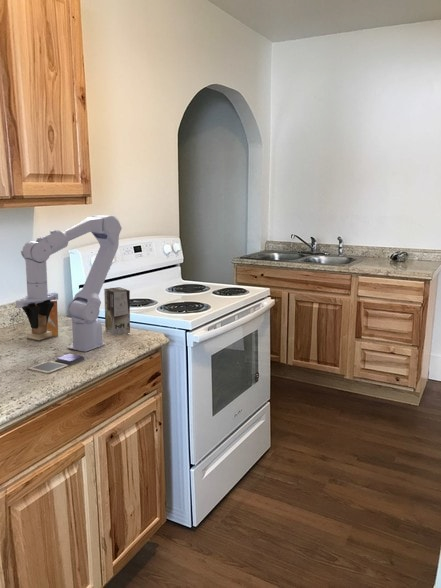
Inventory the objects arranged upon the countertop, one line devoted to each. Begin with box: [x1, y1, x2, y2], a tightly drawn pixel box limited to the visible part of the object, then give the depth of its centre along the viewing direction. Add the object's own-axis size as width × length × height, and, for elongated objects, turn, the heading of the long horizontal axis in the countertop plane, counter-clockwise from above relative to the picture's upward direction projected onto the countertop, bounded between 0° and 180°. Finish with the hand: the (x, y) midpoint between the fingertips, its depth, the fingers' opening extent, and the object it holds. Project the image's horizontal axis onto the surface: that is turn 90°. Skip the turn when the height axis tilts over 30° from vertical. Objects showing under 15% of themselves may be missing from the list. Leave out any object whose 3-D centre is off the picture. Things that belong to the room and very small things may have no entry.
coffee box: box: [103, 286, 131, 337], centre depth 181 cm, size 9×6×16 cm
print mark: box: [27, 360, 70, 375], centre depth 142 cm, size 8×8×1 cm
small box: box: [35, 300, 59, 338], centre depth 176 cm, size 8×6×13 cm
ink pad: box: [54, 353, 86, 366], centre depth 148 cm, size 6×6×1 cm
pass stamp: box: [26, 315, 53, 343], centre depth 149 cm, size 5×5×7 cm
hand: (39, 326), depth 149 cm, fingers closed on pass stamp, 3 cm apart
